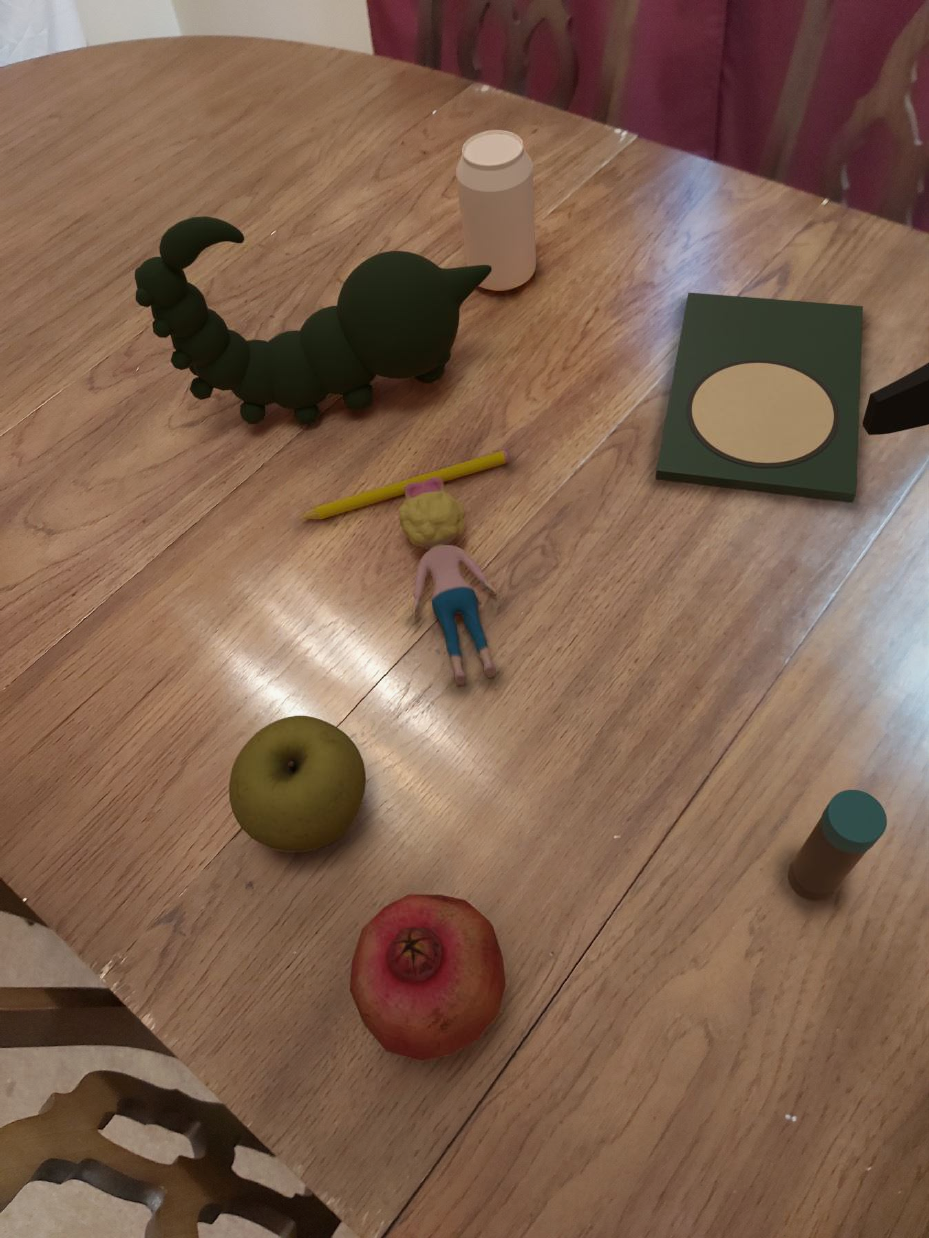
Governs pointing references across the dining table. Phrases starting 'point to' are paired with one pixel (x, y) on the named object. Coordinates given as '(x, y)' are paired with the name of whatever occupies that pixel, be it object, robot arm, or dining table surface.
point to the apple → (297, 784)
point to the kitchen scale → (765, 397)
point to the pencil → (399, 487)
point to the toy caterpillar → (308, 328)
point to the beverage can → (498, 208)
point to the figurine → (445, 566)
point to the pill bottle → (837, 843)
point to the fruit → (427, 976)
